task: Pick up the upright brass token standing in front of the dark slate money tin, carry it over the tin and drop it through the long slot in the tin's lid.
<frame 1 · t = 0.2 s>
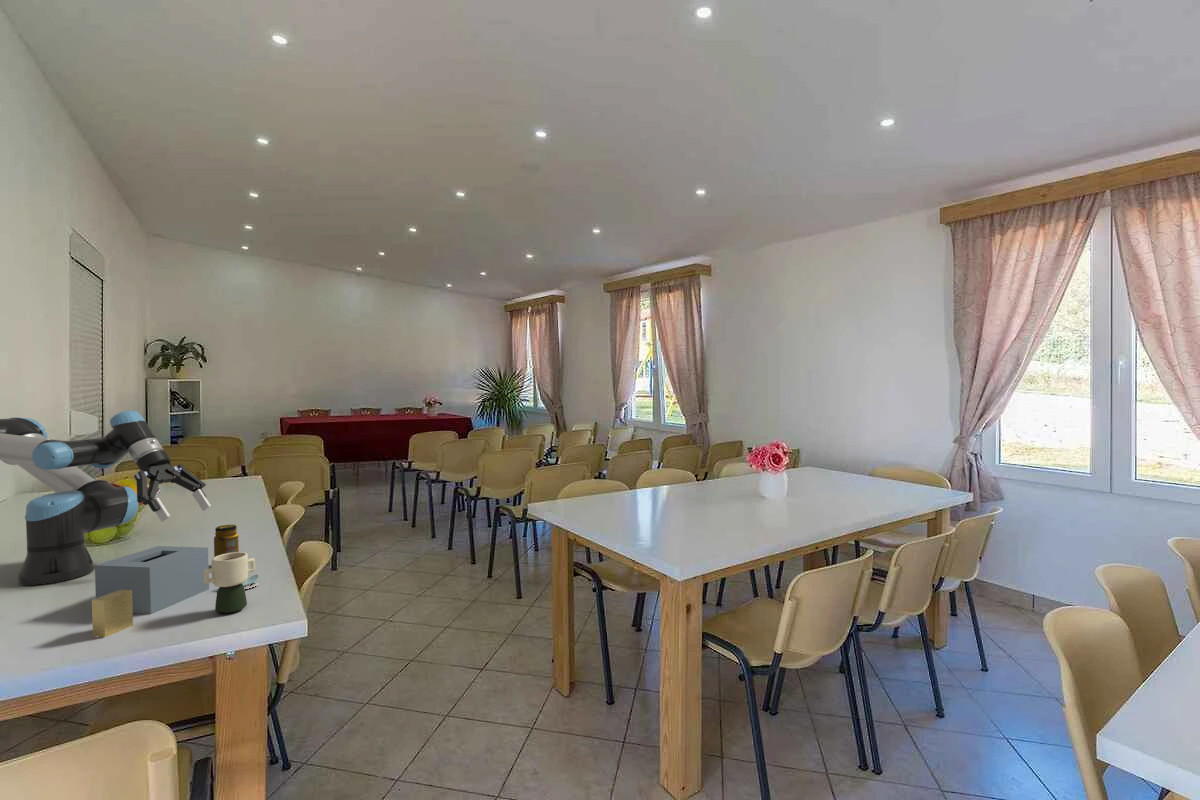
hand: (187, 513, 163), 16 cm above the table, tool tilted 35°, fingers open, 13 cm apart
money tin: (155, 599, 136), on the table
character mug: (231, 611, 129), on the table
pacifier: (244, 588, 144), on the table
brass token: (113, 631, 119), on the table
condiment: (226, 567, 162), on the table
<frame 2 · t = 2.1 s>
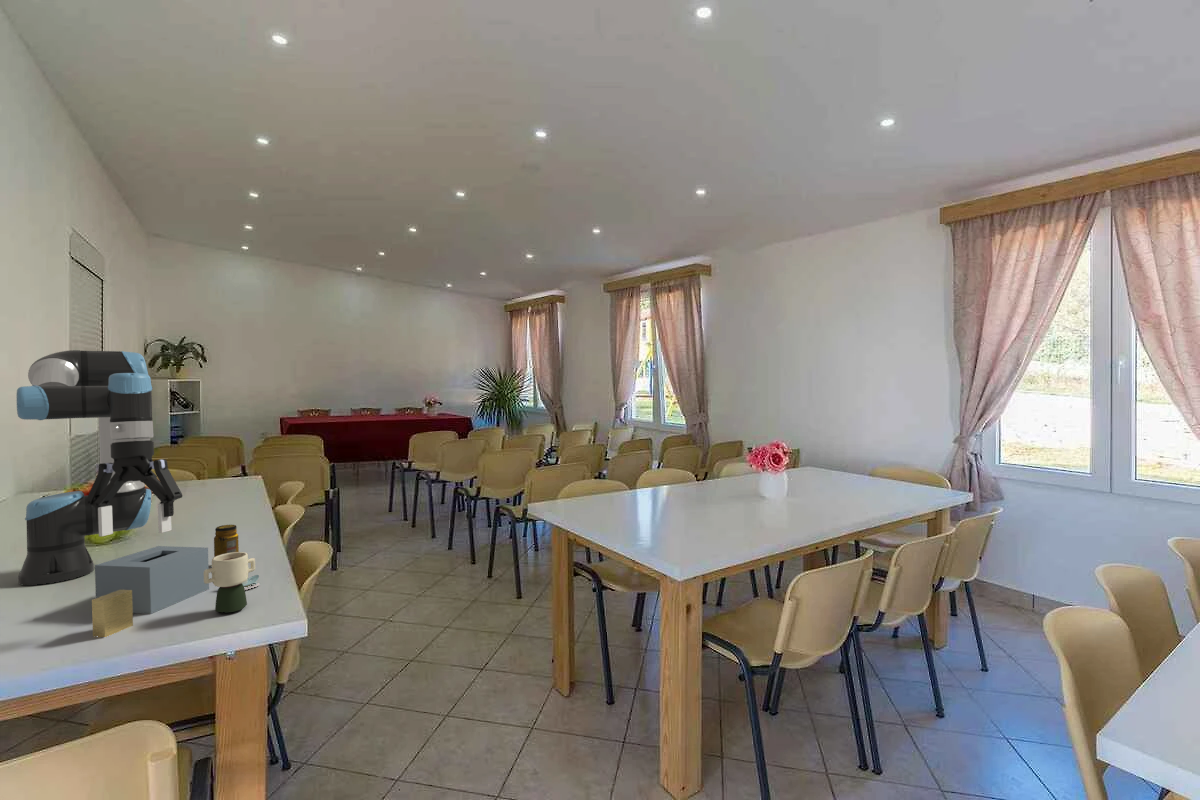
hand: (135, 533, 124), 20 cm above the table, tool pointing down, fingers open, 13 cm apart
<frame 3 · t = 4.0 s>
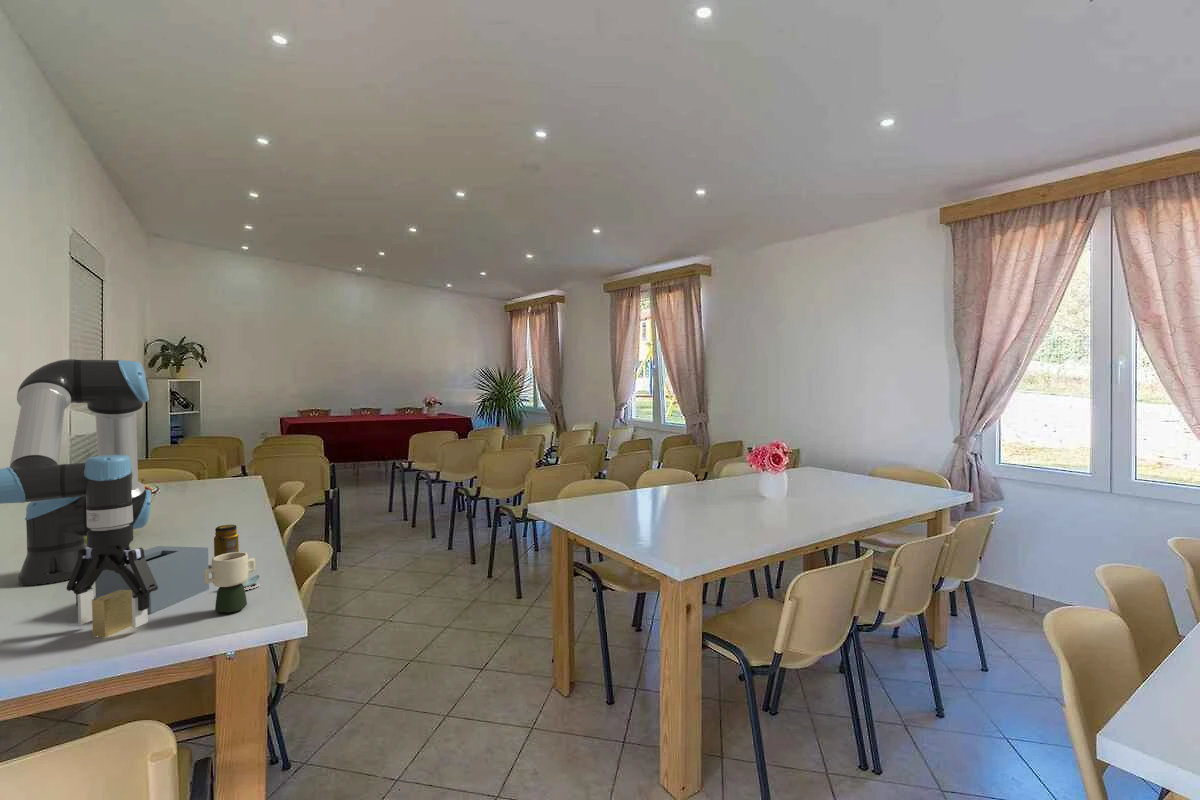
hand: (113, 623, 118), 2 cm above the table, tool pointing down, fingers open, 13 cm apart
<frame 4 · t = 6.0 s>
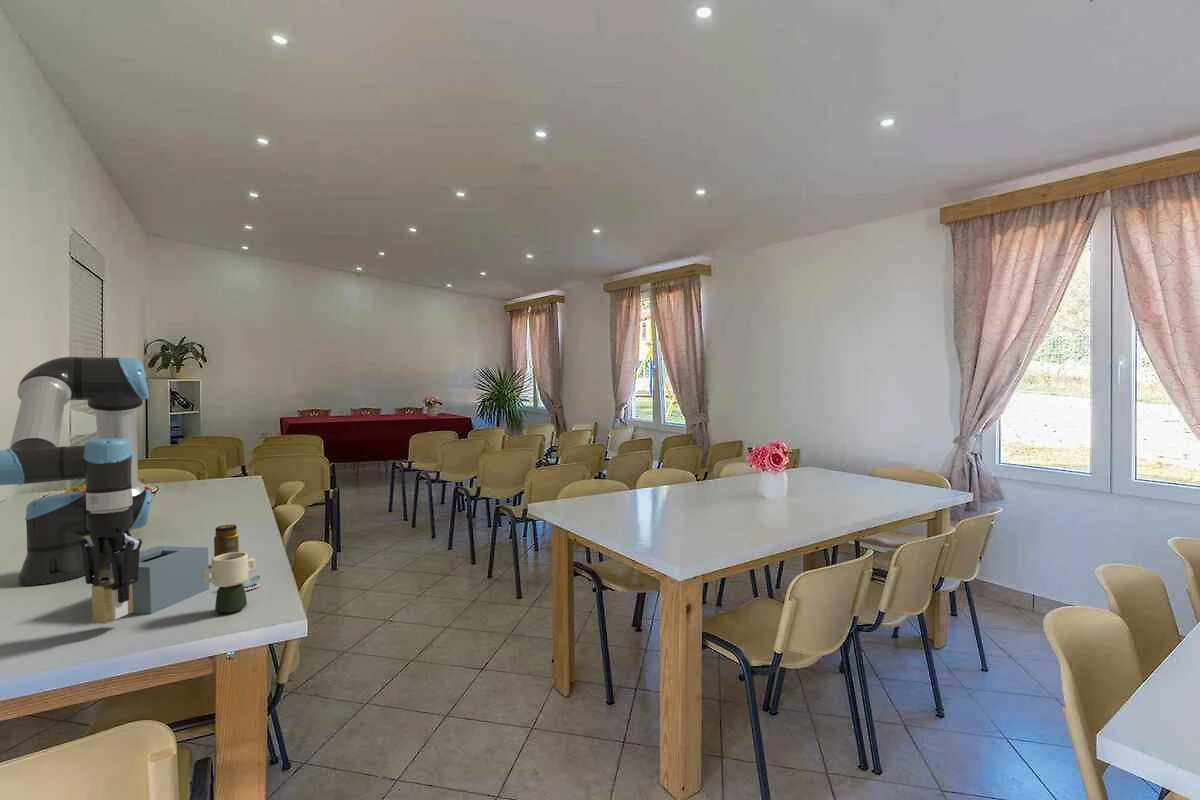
hand: (113, 615, 119), 3 cm above the table, tool pointing down, fingers closed on brass token, 3 cm apart
brass token: (113, 617, 119), point 3 cm above the table, touching gripper
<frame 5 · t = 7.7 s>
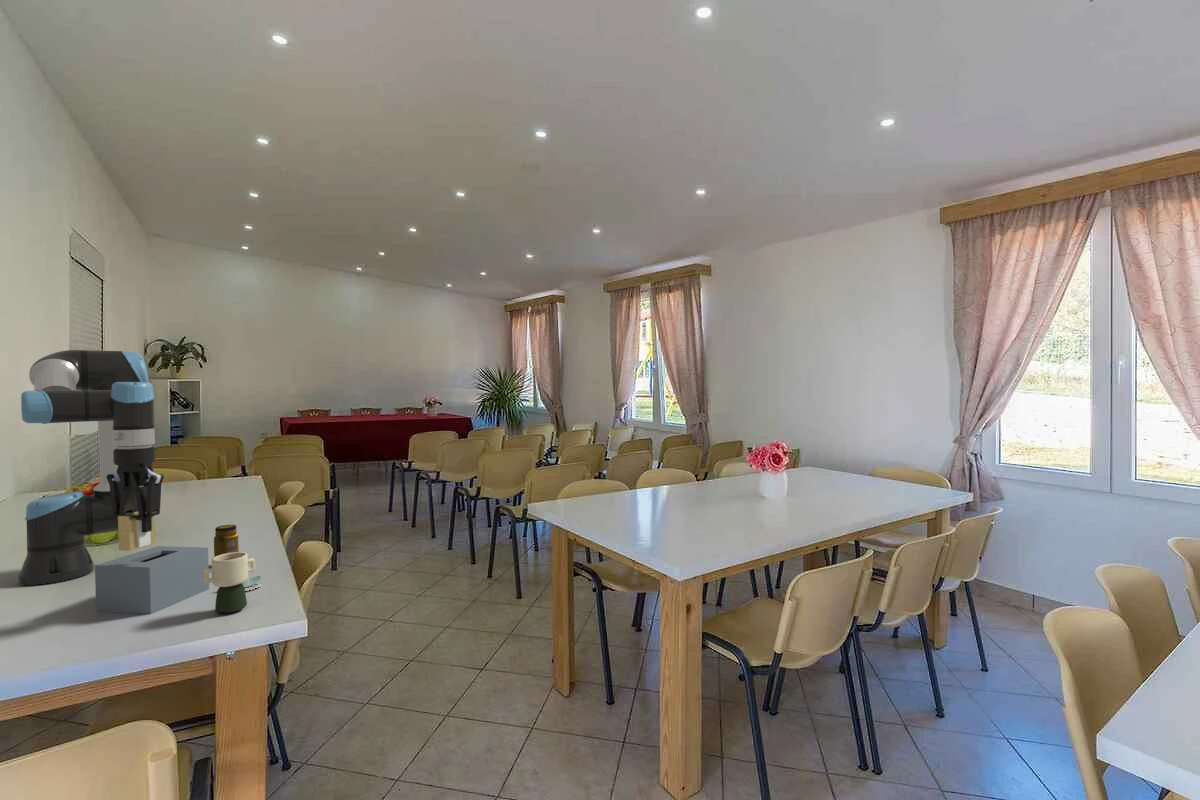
hand: (137, 545, 129), 16 cm above the table, tool pointing down, fingers closed on brass token, 3 cm apart
brass token: (137, 546, 129), point 15 cm above the table, touching gripper
when the fingers open (14 cm above the table, at t = 9.6 s): brass token drops 12 cm, resting on money tin.
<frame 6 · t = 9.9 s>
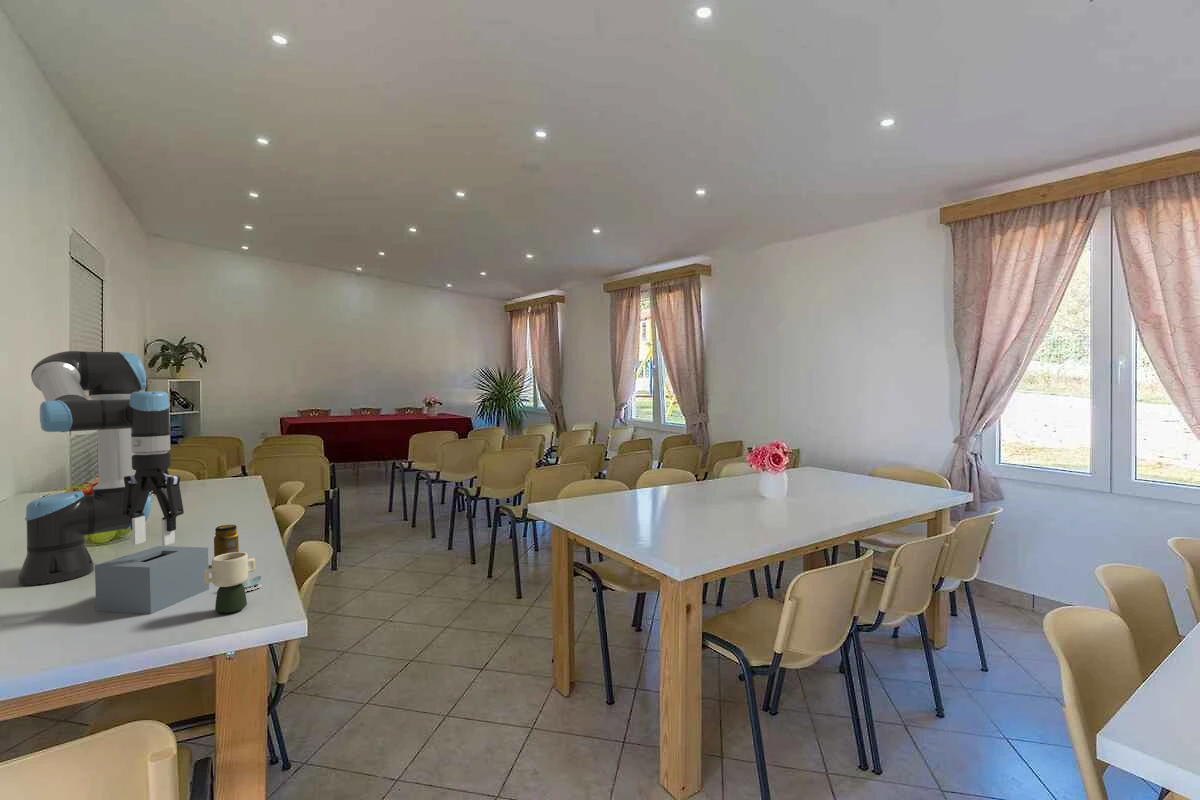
hand: (153, 543, 136), 14 cm above the table, tool pointing down, fingers open, 8 cm apart
brass token: (156, 595, 137), point 1 cm above the table, touching money tin
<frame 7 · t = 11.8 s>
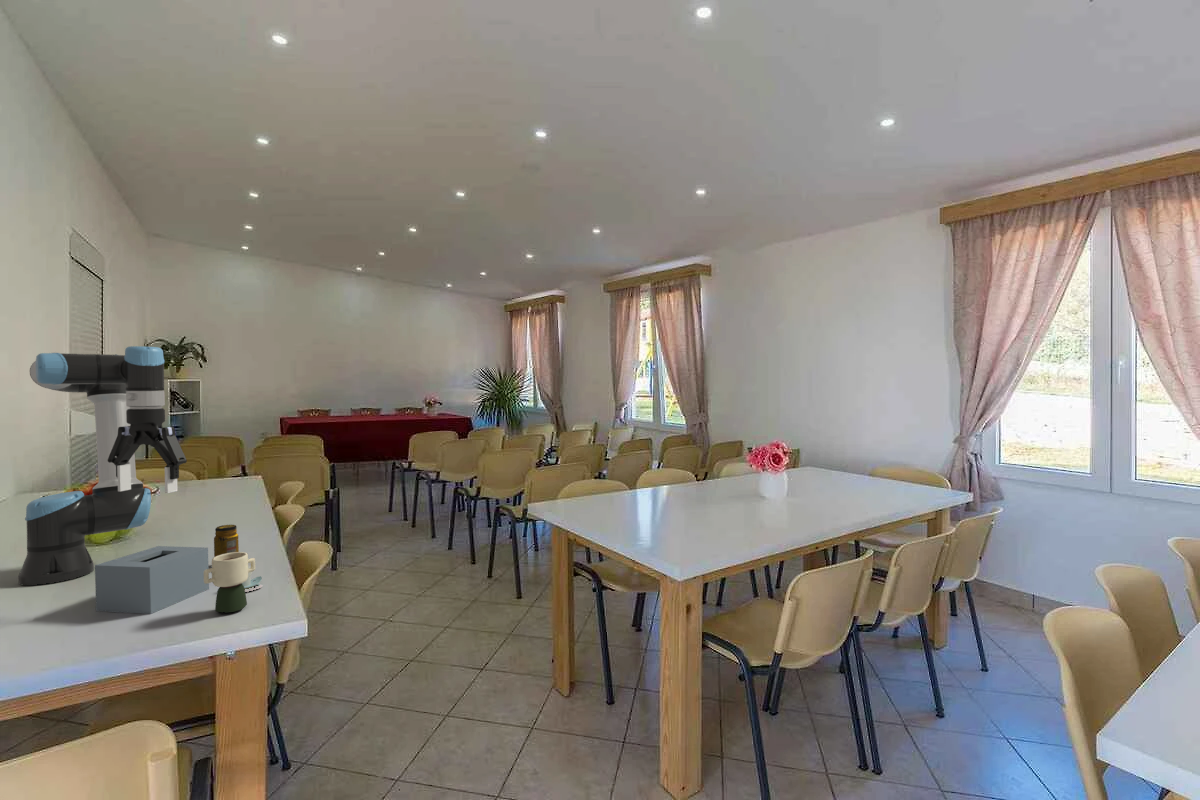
hand: (147, 491, 138), 27 cm above the table, tool pointing down, fingers open, 13 cm apart
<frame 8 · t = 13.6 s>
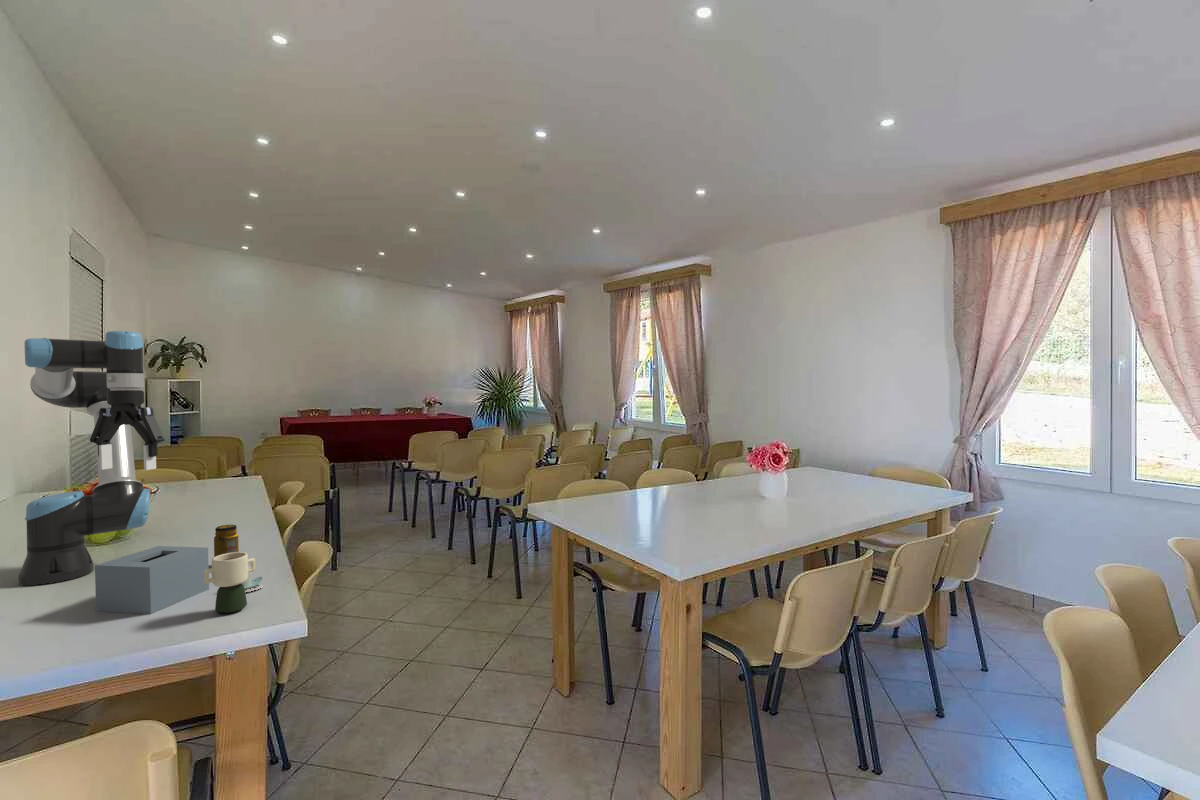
hand: (128, 469, 145), 32 cm above the table, tool pointing down, fingers open, 13 cm apart
at the end: brass token inside the target area on the money tin (0.1 cm from its centre), point 1.0 cm above the money tin's base; the gripper is holding nothing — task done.
